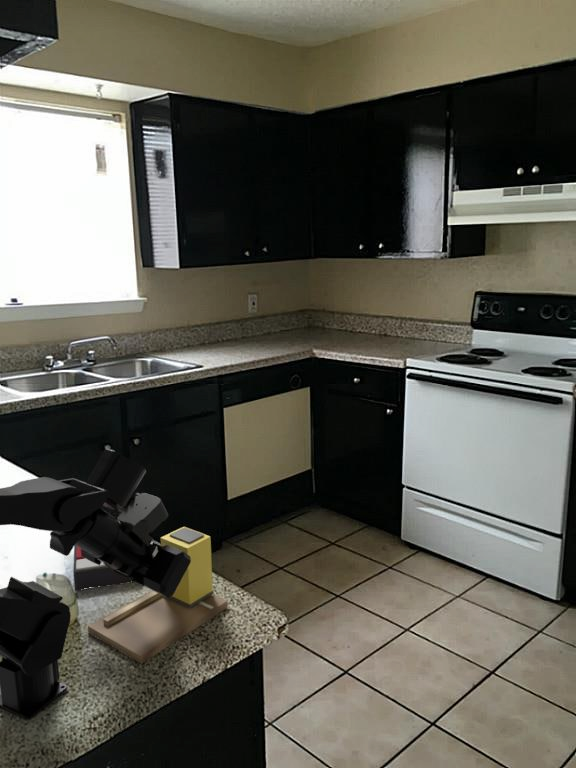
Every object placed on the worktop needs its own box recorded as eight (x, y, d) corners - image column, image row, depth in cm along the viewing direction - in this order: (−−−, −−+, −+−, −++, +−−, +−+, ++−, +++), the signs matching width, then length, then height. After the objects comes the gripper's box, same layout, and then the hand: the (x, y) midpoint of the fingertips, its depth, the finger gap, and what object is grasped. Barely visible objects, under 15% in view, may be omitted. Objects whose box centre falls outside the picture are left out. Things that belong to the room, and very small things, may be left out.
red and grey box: (134, 526, 126) (140, 558, 112) (135, 547, 127) (142, 581, 113) (74, 534, 123) (72, 568, 109) (75, 555, 124) (74, 592, 110)
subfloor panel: (141, 663, 91) (140, 650, 91) (88, 632, 98) (87, 620, 98) (227, 607, 105) (227, 596, 104) (175, 584, 112) (174, 573, 111)
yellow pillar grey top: (190, 608, 102) (187, 547, 100) (162, 595, 106) (159, 535, 103) (213, 593, 106) (211, 534, 104) (186, 581, 110) (183, 524, 107)
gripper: (178, 499, 88) (235, 546, 99) (92, 470, 99) (152, 515, 110) (134, 576, 84) (199, 616, 94) (49, 537, 95) (116, 577, 106)
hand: (165, 577), depth 101 cm, fingers closed
